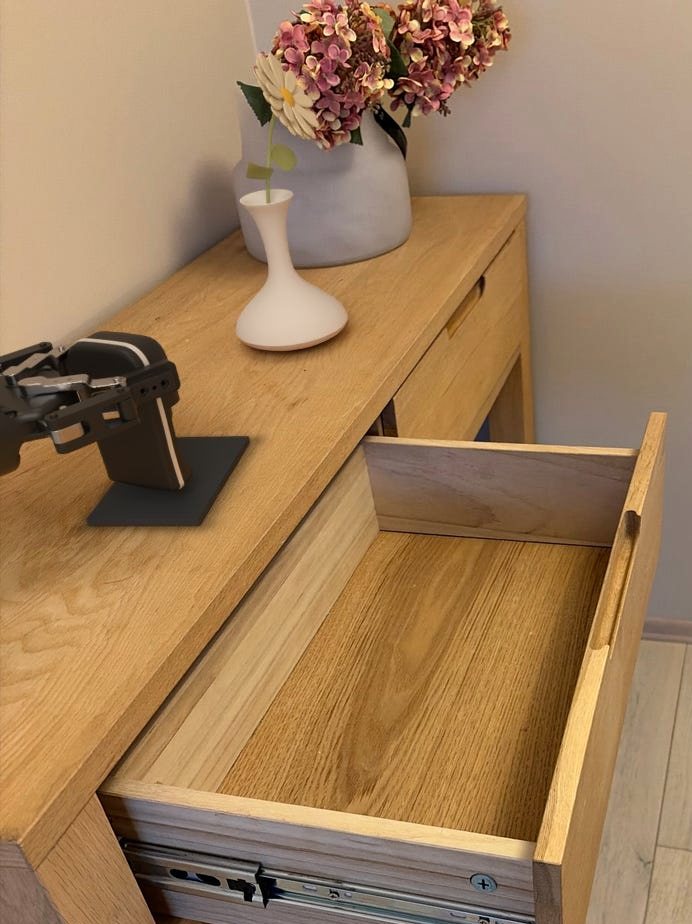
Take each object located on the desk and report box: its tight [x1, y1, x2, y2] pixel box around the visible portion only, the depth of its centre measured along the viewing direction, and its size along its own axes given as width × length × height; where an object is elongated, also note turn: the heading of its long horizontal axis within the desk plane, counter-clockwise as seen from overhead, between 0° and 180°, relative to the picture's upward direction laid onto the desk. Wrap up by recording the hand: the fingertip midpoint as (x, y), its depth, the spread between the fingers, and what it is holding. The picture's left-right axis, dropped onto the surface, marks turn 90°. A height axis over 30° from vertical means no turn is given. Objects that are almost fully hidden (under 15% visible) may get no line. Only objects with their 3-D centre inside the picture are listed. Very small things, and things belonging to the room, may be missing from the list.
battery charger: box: [68, 330, 193, 491], centre depth 73 cm, size 7×4×11 cm, turn 67°
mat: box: [85, 435, 251, 527], centre depth 79 cm, size 9×13×1 cm
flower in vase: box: [235, 52, 349, 352], centre depth 93 cm, size 13×11×25 cm
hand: (148, 359), depth 72 cm, fingers closed on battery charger, 7 cm apart
